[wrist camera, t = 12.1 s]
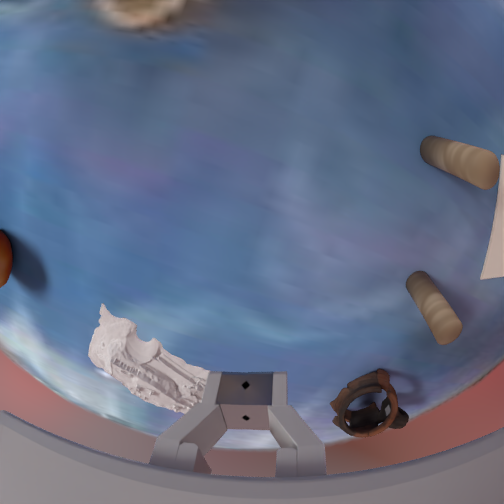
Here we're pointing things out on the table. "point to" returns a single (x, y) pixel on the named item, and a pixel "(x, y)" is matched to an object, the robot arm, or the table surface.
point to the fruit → (5, 258)
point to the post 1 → (462, 160)
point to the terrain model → (145, 365)
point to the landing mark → (496, 236)
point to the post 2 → (434, 308)
